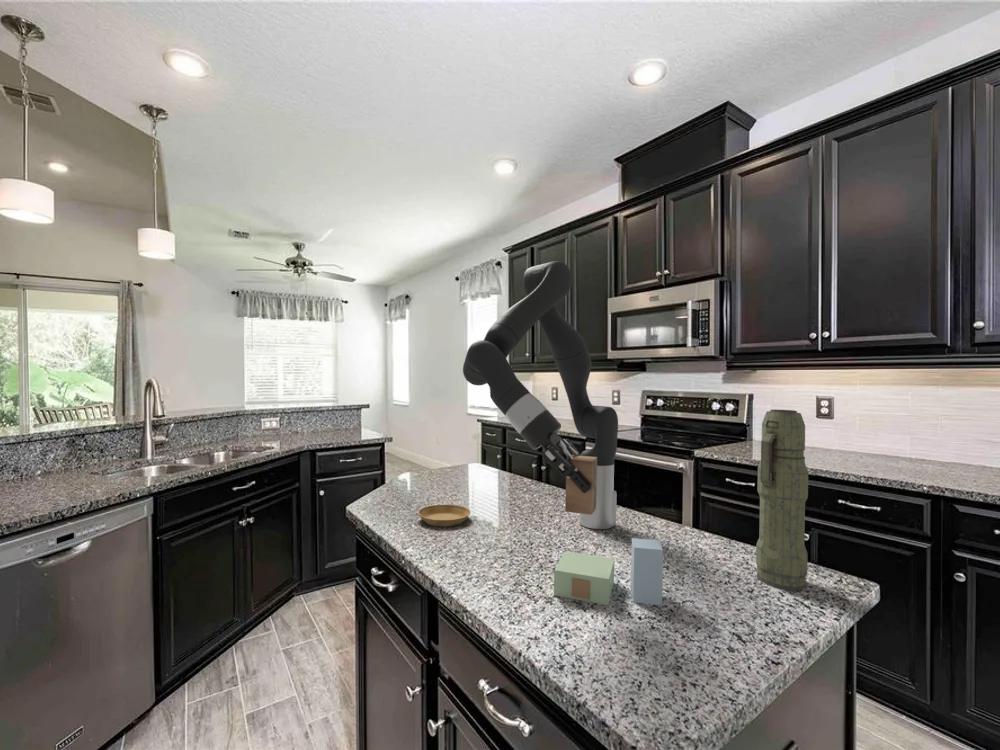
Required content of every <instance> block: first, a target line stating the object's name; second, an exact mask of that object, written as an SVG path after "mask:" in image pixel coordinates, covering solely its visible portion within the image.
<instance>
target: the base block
mask: <svg viewBox="0 0 1000 750" xmlns="http://www.w3.org/2000/svg"><path fill="white" fill-rule="evenodd" d="M553 570H554V572H553V573H554V574H553V583H554V584H553V596H555V597H561V598H567V599H572V600H577V601H580V602H581V601H582V602H588V603H593V604H599V605H602V606H603V605H604V606H609V605H610V601H611V596H612V593H613V589H614V585H615V558H611V557H606V556H605V557H604V556H600V555H592V554H585V553H579V552H573V551H567V550H566V551H564V553H563V554H562V556H561V558H560V560H559V561H558V563H557V565H556V567H555V568H554V569H553Z"/></svg>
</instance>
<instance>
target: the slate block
mask: <svg viewBox="0 0 1000 750" xmlns="http://www.w3.org/2000/svg"><path fill="white" fill-rule="evenodd" d="M630 554H631V556H630V557H631V561H630V562H631V563H630V564H631V565H630V593H631V598H632V602H633V603H636V604H644V605H645V604H646V605H651V606H652V605H653V606H663V575H664V574H663V572H664V549H663V546H662V543H661V542H660V540H657V539H649V538H646V539H645V538H635V537H632V538H631V551H630Z"/></svg>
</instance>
